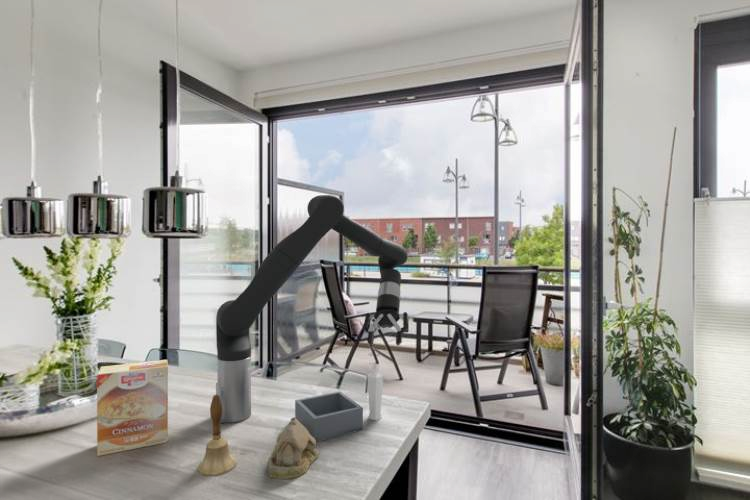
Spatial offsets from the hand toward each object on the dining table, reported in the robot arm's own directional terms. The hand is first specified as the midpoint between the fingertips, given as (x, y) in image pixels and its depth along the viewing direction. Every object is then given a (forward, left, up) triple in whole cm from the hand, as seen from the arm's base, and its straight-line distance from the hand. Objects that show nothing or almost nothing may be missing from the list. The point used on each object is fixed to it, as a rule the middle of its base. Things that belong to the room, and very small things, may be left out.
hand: (384, 344), depth 127 cm
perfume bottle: (-7, -6, -19) cm, 21 cm away
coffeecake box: (-67, +11, -19) cm, 70 cm away
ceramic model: (-35, -17, -19) cm, 44 cm away
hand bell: (-51, -10, -19) cm, 55 cm away
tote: (-21, -4, -19) cm, 28 cm away
